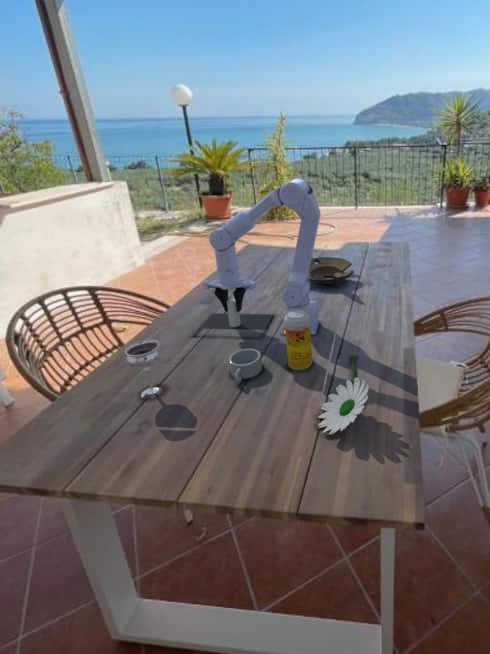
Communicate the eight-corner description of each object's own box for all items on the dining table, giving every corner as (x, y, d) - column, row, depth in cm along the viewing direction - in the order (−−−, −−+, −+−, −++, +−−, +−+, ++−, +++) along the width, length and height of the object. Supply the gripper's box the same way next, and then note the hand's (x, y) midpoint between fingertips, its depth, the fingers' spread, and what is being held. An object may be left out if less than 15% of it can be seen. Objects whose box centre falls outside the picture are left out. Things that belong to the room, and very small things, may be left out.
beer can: (292, 375, 95) (288, 320, 90) (285, 362, 100) (280, 310, 95) (315, 368, 98) (312, 315, 93) (307, 356, 103) (304, 305, 98)
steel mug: (237, 362, 101) (235, 348, 99) (265, 362, 100) (263, 348, 99) (222, 387, 91) (219, 372, 89) (253, 388, 91) (251, 373, 89)
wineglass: (147, 406, 85) (135, 359, 81) (130, 395, 89) (118, 350, 84) (175, 389, 91) (165, 344, 86) (158, 379, 94) (148, 336, 90)
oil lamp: (352, 267, 167) (352, 250, 164) (356, 295, 139) (356, 275, 136) (300, 268, 166) (298, 251, 163) (293, 297, 138) (292, 277, 135)
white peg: (242, 322, 120) (239, 298, 117) (238, 327, 117) (235, 303, 114) (232, 322, 120) (228, 298, 118) (228, 327, 117) (224, 303, 115)
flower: (367, 336, 101) (366, 402, 72) (378, 352, 102) (381, 424, 73) (325, 361, 103) (307, 435, 74) (337, 376, 104) (324, 456, 75)
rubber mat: (273, 315, 125) (273, 314, 125) (261, 338, 112) (260, 336, 112) (212, 314, 126) (212, 313, 126) (193, 336, 113) (193, 335, 113)
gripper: (197, 272, 109) (204, 315, 114) (247, 273, 108) (252, 316, 113) (207, 264, 115) (213, 305, 120) (255, 264, 115) (259, 306, 120)
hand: (233, 310), depth 117 cm, fingers closed on white peg, 3 cm apart
